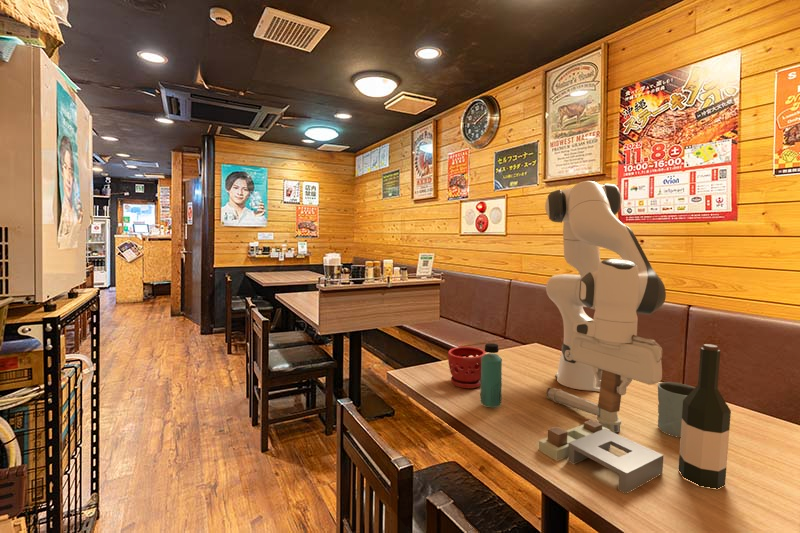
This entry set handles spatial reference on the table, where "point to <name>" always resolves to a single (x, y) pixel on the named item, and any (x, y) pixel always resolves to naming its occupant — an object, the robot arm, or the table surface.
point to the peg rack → (563, 450)
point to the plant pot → (465, 366)
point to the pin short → (592, 426)
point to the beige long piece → (586, 408)
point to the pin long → (609, 392)
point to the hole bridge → (630, 466)
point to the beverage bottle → (491, 377)
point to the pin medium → (557, 436)
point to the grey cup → (671, 406)
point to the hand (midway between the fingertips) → (610, 390)
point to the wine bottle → (705, 426)
